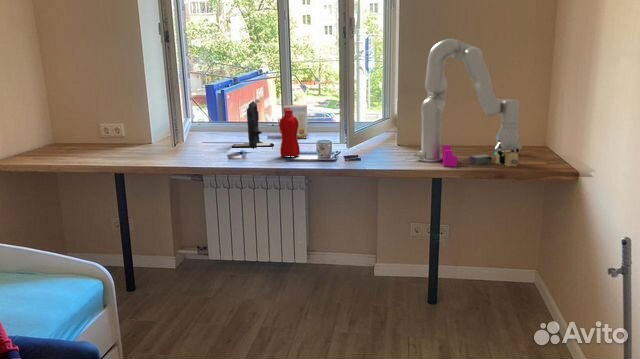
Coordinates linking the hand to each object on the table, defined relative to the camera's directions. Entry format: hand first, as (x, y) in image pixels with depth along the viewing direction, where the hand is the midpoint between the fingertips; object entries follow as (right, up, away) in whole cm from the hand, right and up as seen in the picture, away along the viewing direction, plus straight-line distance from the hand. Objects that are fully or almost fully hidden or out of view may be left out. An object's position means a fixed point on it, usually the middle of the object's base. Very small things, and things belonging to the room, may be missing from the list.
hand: (507, 162), depth 259 cm
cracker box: (-105, +18, +83) cm, 135 cm away
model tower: (+6, +5, +21) cm, 23 cm away
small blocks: (-6, +1, +7) cm, 9 cm away
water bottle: (-107, +4, +31) cm, 111 cm away
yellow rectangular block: (0, -1, +1) cm, 1 cm away
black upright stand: (-130, +11, +59) cm, 143 cm away
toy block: (-26, 0, +5) cm, 27 cm away
